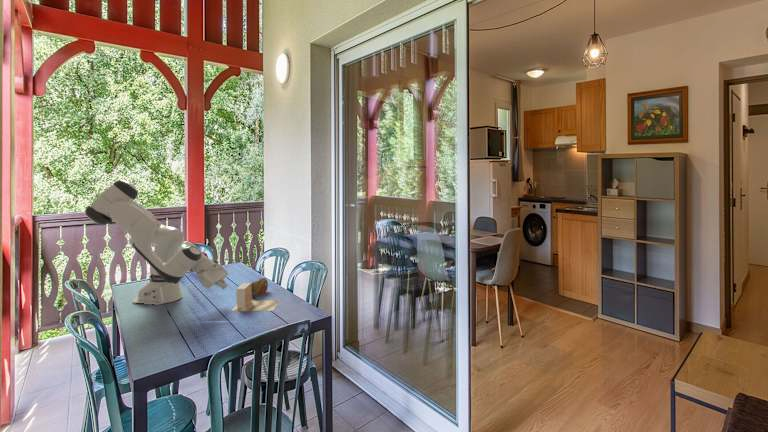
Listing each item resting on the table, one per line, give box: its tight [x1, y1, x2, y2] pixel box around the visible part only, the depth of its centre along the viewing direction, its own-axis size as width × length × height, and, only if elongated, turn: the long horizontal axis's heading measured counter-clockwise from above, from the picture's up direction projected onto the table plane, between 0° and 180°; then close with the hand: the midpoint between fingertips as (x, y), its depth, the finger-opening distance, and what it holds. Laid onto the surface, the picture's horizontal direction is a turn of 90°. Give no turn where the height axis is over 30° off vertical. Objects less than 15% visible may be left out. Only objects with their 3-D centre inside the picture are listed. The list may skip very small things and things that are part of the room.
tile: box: [236, 282, 253, 309], centre depth 187 cm, size 4×10×10 cm, turn 3°
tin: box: [251, 277, 269, 298], centre depth 205 cm, size 15×3×8 cm, turn 168°
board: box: [230, 299, 281, 312], centre depth 187 cm, size 20×15×1 cm
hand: (225, 287), depth 185 cm, fingers closed
